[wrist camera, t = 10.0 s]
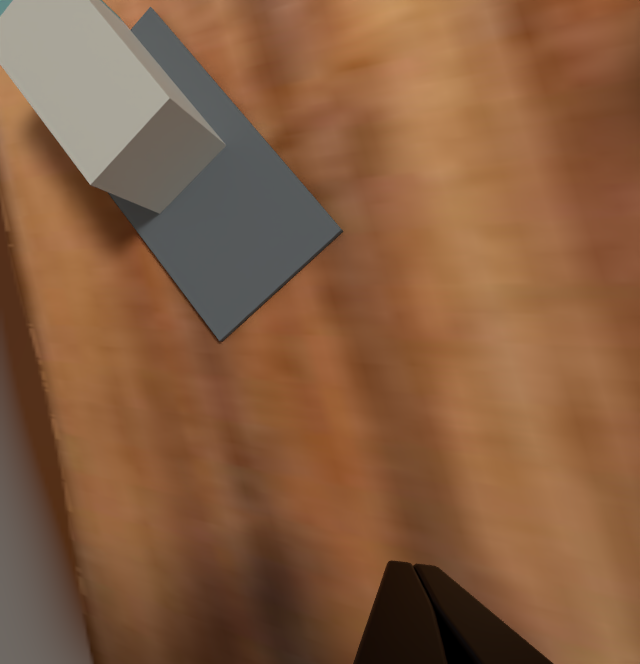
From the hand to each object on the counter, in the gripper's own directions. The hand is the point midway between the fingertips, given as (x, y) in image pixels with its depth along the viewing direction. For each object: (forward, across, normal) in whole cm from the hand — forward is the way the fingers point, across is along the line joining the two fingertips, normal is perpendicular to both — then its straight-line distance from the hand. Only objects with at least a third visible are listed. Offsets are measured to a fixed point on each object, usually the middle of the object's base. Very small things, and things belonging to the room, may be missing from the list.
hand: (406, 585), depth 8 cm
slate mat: (+14, -8, +6) cm, 18 cm away
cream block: (+12, -8, +7) cm, 16 cm away
